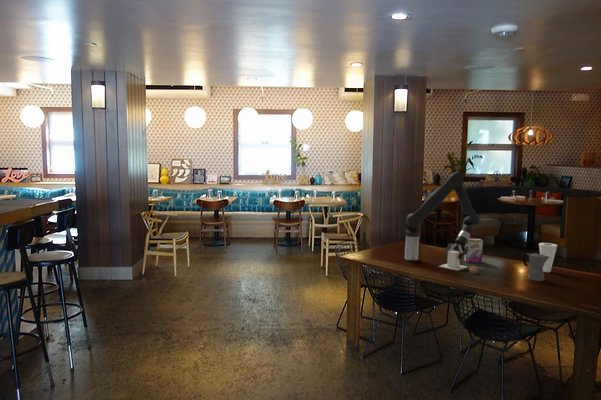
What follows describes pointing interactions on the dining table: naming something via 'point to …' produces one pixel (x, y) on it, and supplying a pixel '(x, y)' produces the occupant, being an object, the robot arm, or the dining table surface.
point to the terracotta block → (473, 269)
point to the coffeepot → (535, 265)
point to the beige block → (453, 259)
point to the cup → (548, 254)
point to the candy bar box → (474, 250)
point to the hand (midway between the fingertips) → (453, 257)
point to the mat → (453, 267)
